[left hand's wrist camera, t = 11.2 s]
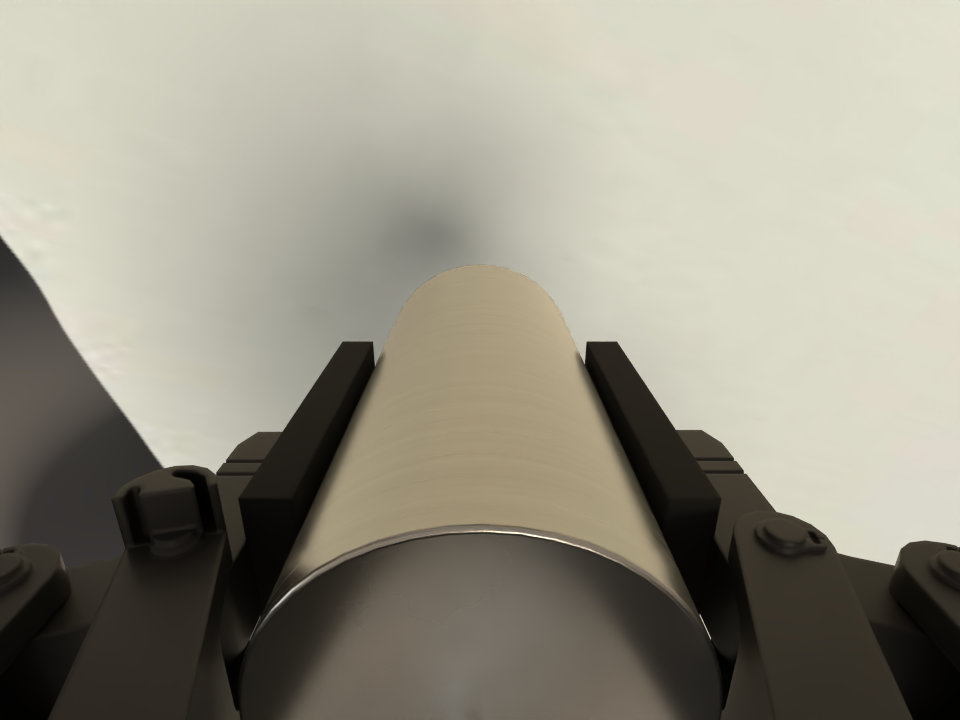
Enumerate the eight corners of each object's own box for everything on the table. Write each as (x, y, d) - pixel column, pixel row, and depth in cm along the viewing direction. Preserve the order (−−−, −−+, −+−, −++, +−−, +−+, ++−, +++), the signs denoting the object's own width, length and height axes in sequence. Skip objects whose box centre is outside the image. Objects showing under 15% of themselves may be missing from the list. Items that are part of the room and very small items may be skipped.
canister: (463, 225, 15) (426, 424, 5) (605, 337, 17) (830, 697, 6) (357, 365, 17) (150, 753, 6) (494, 459, 18) (514, 917, 8)
